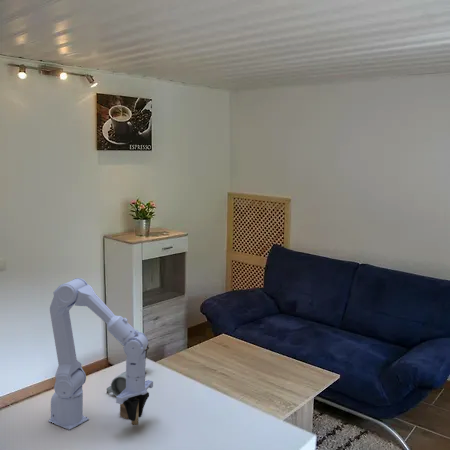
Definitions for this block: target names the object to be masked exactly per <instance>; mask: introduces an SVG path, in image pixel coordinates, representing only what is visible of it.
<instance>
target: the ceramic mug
mask: <svg viewBox="0 0 450 450" xmlns="http://www.w3.org/2000/svg"><path fill="white" fill-rule="evenodd" d="M125 388H126V371H124V372H122V373H120V374H119V375H117V376H115V377H114V378H113V379H112V381H111V383H110V385H109V386H108V387H107V388H106V392H107V393H108V394H111V393H112V394H113V396H115V397H116V396H118V395H119V394H120V393H121V392H122V391H123V390H124V389H125Z"/></svg>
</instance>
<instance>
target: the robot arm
mask: <svg viewBox="0 0 450 450" xmlns="http://www.w3.org/2000/svg"><path fill="white" fill-rule="evenodd" d="M73 306H77V307H87V308H88V309H90V311H92V312H93V313H94V314H95V315H96V316H97V317H98V318H100V320H102V321H103V322H104V323H105V324H106V330H107V331H108V333H110V335H112V336H113V338H114V339H116V341H118V343H120V344H121V345H122V346H123V353H124V354H125V355H126V360H125V361H126V362H125V364H126V365H125V372H126V388H125V389H124V390H123V391H122V392H121V393H120V394H119V395H118V396H115V401H116V402H115V403H116V404H119V405H120V404H124V406H125V408H126V411H127V414H128V418H129V419H128V420H130V421H131V420H132V421H135V419H136V410H137V406H138V403H139V418H141V417H142V415H143V410H144V409H145V404H146V402H147V400H148V398H149V397H150V392H148V389H153V387H154V381H153V380H150V379H148V380H146V375H145V372H146V364H147V363H146V361H147V358H146V359H145V353H146V351H144V350H145V349H146V347H147V345H148V346H149V339H148V337H147V336H146V334H145V333H144V332H142V331H139V330H138V329H135V327H133V326H132V325H131V324H130V323H129V321H128V318H127V317H123V316H122V315H116V314H114V312H113V311H112V310H111V309H110V308H109V307H108V306H107V304H106V303H105V302H104V301H103V300H102V299H101V298H100V296H98V295H97V294H96V292H95V291H94V288H93V287H92V285H90V284H88V282H87V281H86V280H85V279H84V278H81V277H77V278H73V279H72V280H69V281H68V282H65V283H62V284H60V285H58V287H57V288H55V290H54V291H53V297H52V300H51V304H50V305H49V313H50V319H51V321H50V322H51V326H52V333H53V338H54V344H55V345H54V346H55V351H56V356H57V357H56V358H57V363H58V367H57V370H56V372H55V375H54V376H55V382H54V386H53V390H54V393H53V394H52V396H51V399H50V419H48V423H51V422H52V423H51V424H53V423H54V424H53V425H56V426H59V427H61V428H64V429H66V430H68V431H70V430H73V429H74V428H75V427H77V426H79V425H81V424H83V423H85V422H87V421H89V419H90V418H89V417H87V416H85V415H84V414H83V411H84V410H83V409H84V407H83V406H84V403H83V401H84V396H83V395H84V392H83V391H84V390H83V385H84V384H85V383H86V380H87V375H86V374H87V373H86V372H85V371H84V369H83V367H82V363H81V362H80V361H79V360H78V359H77V353H76V347H75V340H74V335H73V327H72V321H71V315H70V310H71V309H72V308H73ZM135 398H138V399H139V400H137V399H135Z"/></svg>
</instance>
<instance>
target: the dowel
mask: <svg viewBox="0 0 450 450" xmlns="http://www.w3.org/2000/svg"><path fill="white" fill-rule="evenodd" d="M135 399H137V400H139V399H138V398H135ZM139 418H140V417H139V403H138V406H137V410H136V419H135V421H132V420H130V424H131V425H132V426H137V425H139V421H140V420H139Z"/></svg>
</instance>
